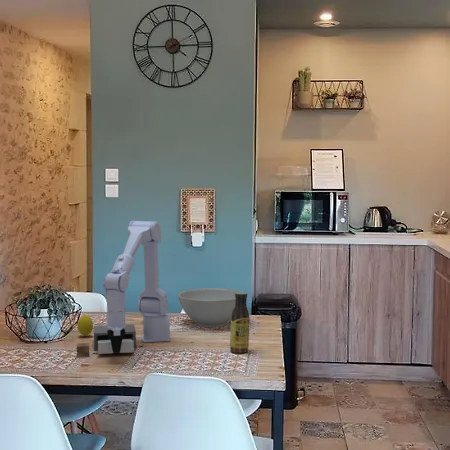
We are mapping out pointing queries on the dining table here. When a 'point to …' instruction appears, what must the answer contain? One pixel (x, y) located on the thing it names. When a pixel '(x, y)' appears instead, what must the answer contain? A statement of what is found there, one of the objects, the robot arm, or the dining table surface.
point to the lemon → (85, 325)
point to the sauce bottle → (240, 325)
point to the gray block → (101, 334)
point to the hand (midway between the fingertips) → (116, 352)
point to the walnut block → (83, 350)
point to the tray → (106, 346)
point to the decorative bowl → (208, 306)
